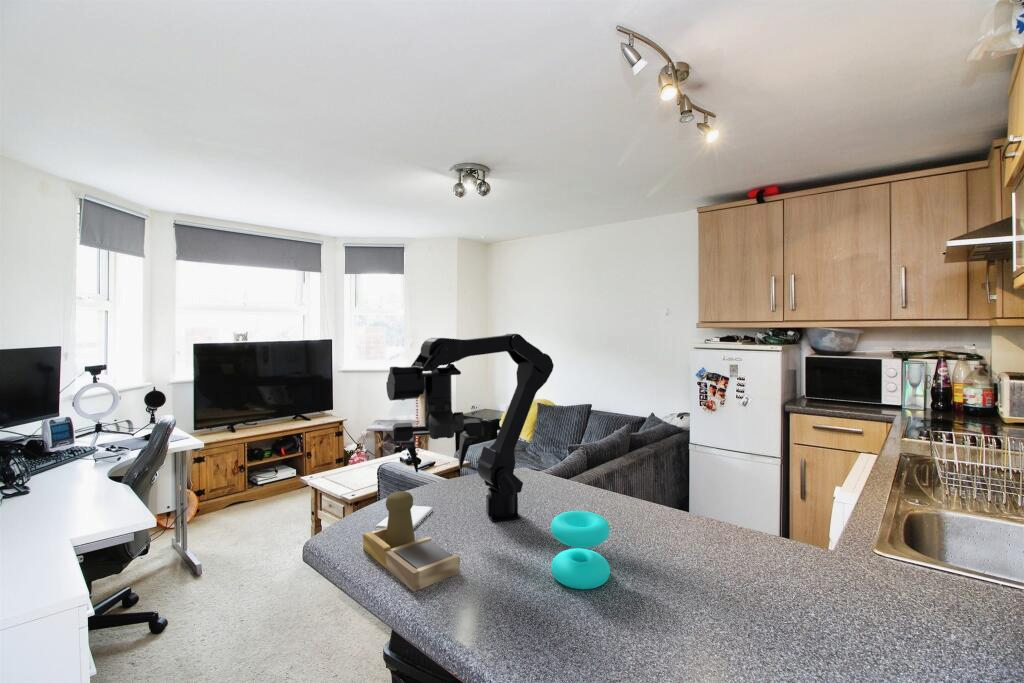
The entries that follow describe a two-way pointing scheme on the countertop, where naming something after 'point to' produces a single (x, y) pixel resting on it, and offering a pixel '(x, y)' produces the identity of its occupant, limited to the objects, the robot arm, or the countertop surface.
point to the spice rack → (412, 559)
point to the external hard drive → (416, 513)
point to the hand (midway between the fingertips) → (438, 470)
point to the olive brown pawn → (399, 519)
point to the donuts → (580, 549)
